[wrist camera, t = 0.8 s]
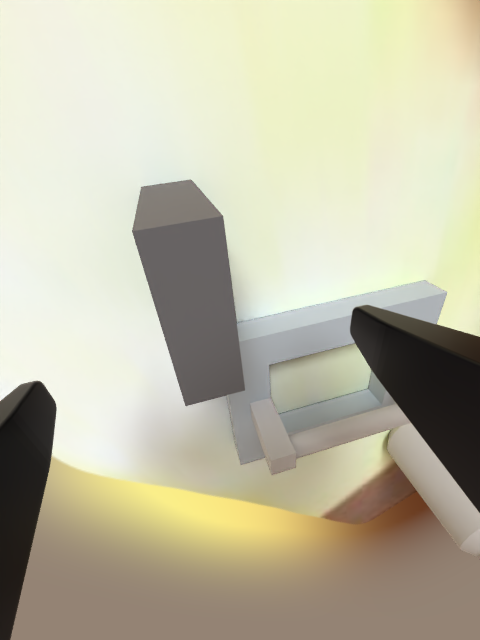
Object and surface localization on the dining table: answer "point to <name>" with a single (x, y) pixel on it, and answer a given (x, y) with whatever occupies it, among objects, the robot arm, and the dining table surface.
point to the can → (436, 487)
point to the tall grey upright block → (191, 287)
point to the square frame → (328, 416)
